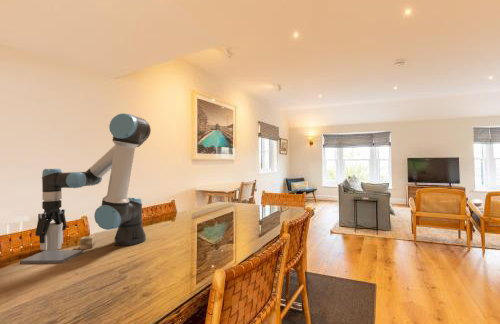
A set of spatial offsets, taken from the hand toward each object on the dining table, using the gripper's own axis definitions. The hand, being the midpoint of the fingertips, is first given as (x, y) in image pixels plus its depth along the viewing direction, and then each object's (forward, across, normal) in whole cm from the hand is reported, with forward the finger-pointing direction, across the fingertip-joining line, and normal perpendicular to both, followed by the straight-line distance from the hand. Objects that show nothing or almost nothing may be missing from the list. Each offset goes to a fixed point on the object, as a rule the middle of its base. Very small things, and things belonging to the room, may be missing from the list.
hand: (52, 246), depth 129 cm
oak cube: (+1, -3, +16) cm, 16 cm away
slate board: (+2, +12, +10) cm, 16 cm away
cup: (+2, -1, 0) cm, 2 cm away
